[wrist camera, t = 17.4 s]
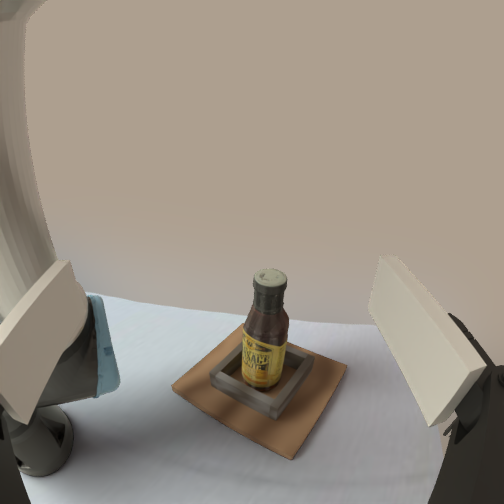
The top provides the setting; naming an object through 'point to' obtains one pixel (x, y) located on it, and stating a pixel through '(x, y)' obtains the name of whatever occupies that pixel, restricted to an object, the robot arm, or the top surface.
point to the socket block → (263, 394)
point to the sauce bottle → (265, 332)
